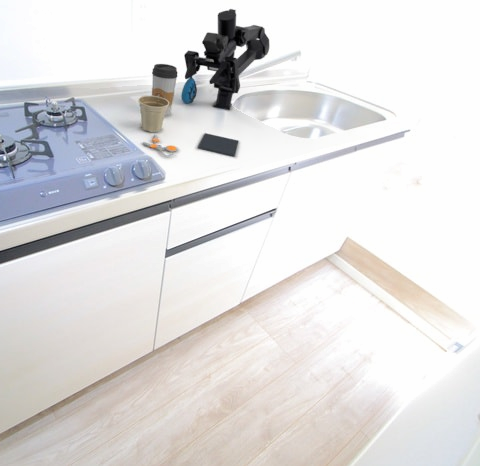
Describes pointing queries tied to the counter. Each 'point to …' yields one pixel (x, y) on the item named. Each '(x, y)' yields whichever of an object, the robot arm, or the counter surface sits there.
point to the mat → (218, 144)
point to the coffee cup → (164, 83)
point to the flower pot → (152, 112)
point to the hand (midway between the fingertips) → (197, 80)
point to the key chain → (169, 148)
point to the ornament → (189, 91)
